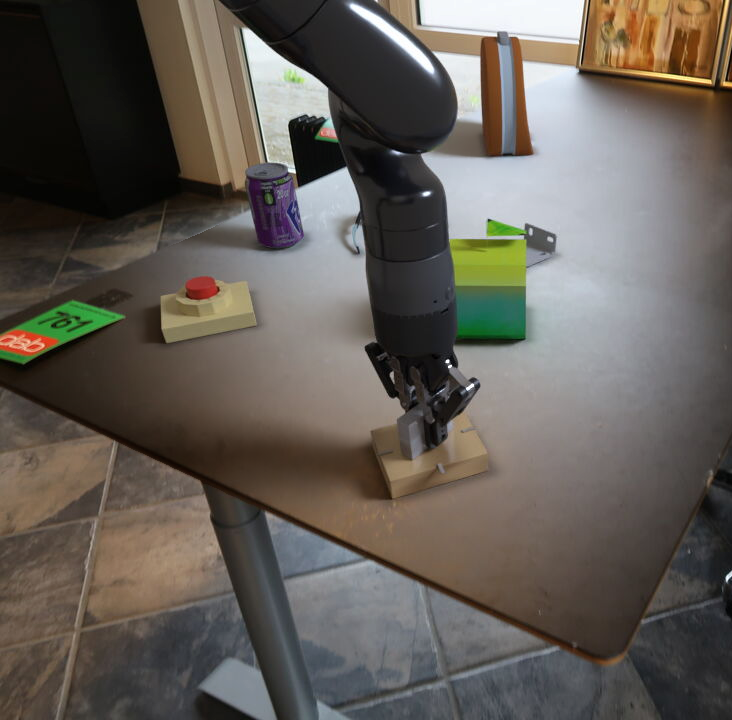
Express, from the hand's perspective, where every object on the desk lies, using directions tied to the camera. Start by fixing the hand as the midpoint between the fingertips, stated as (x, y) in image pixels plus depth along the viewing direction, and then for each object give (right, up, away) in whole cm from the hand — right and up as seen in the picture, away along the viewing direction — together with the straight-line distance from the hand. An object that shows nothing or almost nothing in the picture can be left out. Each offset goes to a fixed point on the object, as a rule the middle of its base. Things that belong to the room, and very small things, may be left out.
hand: (428, 438), depth 71 cm
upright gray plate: (0, 0, 0) cm, 0 cm away
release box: (-33, +14, +23) cm, 43 cm away
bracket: (+9, +24, +39) cm, 47 cm away
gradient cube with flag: (+5, +13, +23) cm, 27 cm away
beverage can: (-30, +27, +42) cm, 58 cm away
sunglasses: (-12, +28, +45) cm, 54 cm away
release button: (-33, +17, +21) cm, 43 cm away
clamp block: (0, -2, +2) cm, 3 cm away
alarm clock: (+4, +55, +83) cm, 100 cm away
